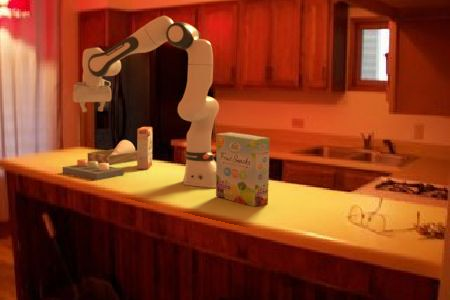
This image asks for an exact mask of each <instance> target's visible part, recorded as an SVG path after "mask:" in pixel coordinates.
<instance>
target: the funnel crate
mask: <svg viewBox="0 0 450 300" xmlns="http://www.w3.org/2000/svg"><path fill="white" fill-rule="evenodd" d="M114 150H115V148H114V149H113V148H112V149H108V150H100V151H92V152H87V160H88V162H89V161H98V164H99V163H109V166H113V165H119V164H124V163H130V162H136V161H137V149H135V152H131V153H124V154H117V155H110V154H111V153H113V151H114ZM109 155H110V156H109Z"/></svg>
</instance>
